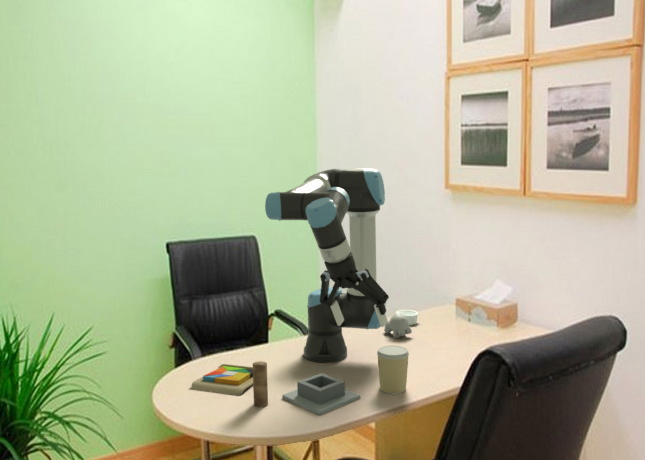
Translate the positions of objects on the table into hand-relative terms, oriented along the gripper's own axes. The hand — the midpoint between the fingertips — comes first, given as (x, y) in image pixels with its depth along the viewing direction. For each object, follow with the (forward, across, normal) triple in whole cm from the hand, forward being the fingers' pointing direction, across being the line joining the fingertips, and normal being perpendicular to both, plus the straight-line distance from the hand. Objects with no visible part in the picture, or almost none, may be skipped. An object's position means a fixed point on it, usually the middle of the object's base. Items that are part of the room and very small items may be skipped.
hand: (362, 323), depth 171 cm
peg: (+15, -30, -19) cm, 38 cm away
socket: (+21, -18, -8) cm, 29 cm away
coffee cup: (+30, -3, +7) cm, 31 cm away
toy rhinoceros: (+45, -26, +52) cm, 73 cm away
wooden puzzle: (+17, -49, -10) cm, 53 cm away
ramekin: (+51, -30, +68) cm, 90 cm away
